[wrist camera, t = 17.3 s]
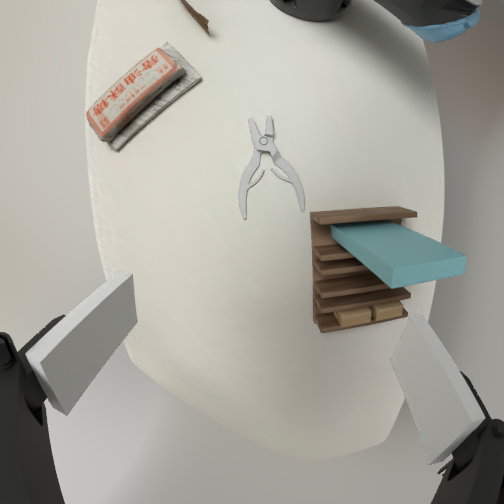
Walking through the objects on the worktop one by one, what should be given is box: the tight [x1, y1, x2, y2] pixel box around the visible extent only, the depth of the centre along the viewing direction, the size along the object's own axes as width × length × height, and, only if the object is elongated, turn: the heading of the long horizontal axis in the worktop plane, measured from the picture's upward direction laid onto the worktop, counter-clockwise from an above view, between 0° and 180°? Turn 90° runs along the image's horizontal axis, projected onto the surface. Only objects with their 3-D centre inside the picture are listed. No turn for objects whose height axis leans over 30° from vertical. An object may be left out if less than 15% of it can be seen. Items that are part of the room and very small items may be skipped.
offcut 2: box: [368, 301, 403, 321], centre depth 42 cm, size 2×5×6 cm, turn 96°
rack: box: [310, 206, 417, 333], centre depth 41 cm, size 19×16×6 cm
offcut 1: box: [333, 306, 372, 327], centre depth 42 cm, size 2×5×6 cm, turn 96°
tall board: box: [331, 220, 467, 289], centre depth 32 cm, size 2×10×20 cm, turn 96°
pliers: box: [239, 116, 305, 219], centre depth 39 cm, size 10×2×15 cm
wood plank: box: [181, 0, 210, 36], centre depth 28 cm, size 15×2×5 cm, turn 29°
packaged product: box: [86, 42, 201, 151], centre depth 34 cm, size 18×5×10 cm
